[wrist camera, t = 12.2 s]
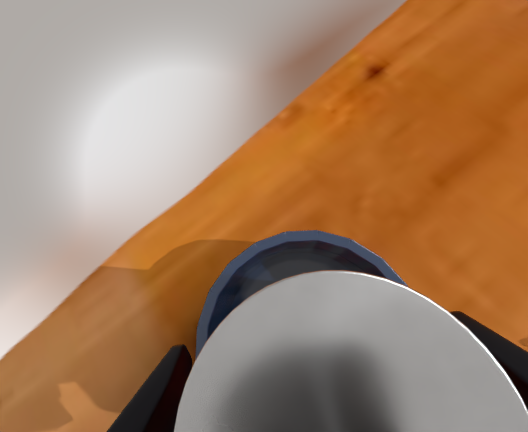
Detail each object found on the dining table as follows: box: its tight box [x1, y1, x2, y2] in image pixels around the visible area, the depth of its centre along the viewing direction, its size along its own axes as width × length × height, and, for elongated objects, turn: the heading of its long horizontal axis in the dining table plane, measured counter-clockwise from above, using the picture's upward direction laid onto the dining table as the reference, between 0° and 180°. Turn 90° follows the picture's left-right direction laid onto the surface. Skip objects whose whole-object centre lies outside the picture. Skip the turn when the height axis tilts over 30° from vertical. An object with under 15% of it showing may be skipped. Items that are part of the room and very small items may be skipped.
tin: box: [174, 270, 528, 432], centre depth 10 cm, size 6×6×13 cm
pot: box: [195, 230, 408, 360], centre depth 14 cm, size 11×11×5 cm
